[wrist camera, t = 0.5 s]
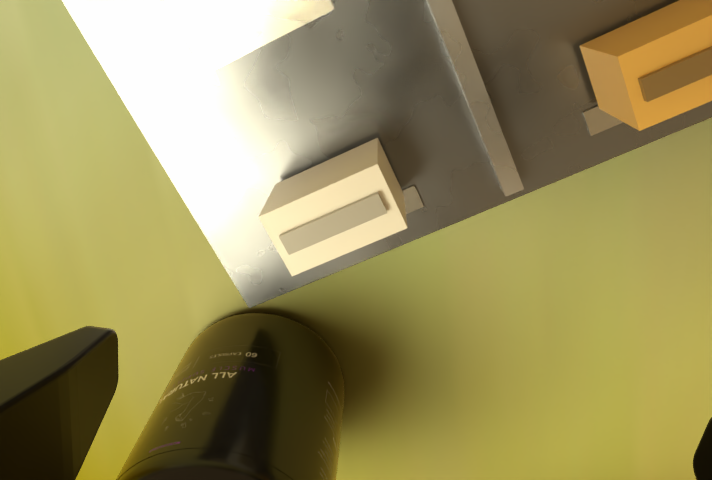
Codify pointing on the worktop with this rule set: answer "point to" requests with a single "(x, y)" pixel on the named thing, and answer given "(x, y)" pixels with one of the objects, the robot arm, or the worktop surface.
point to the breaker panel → (360, 104)
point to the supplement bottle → (246, 407)
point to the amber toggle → (654, 64)
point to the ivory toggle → (334, 208)
